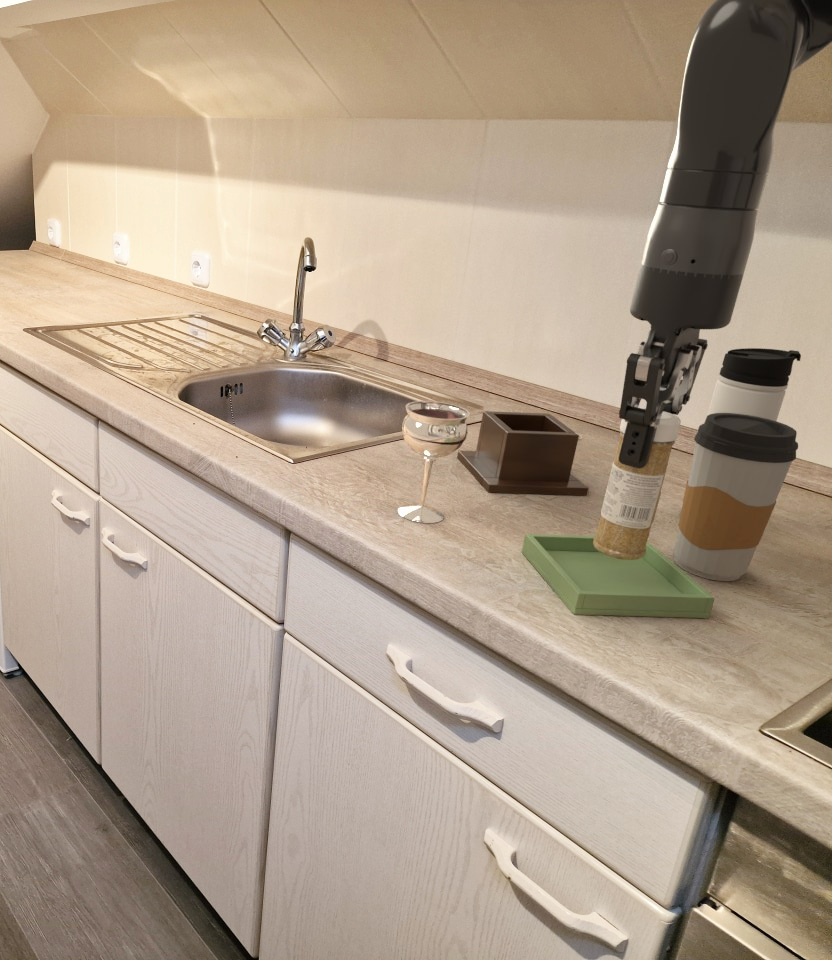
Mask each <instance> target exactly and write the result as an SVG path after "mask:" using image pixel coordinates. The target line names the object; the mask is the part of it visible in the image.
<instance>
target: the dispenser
mask: <svg viewBox="0 0 832 960" xmlns="http://www.w3.org/2000/svg"><path fill="white" fill-rule="evenodd" d="M479 428H480V429H479V433H478V438H477V444H476V450H458V451H457V456H456V457H457V459H458V461H460V463H462V465H463V466H464V467H465V468H466V470H468V472H470V474H471V475H472V476H473V477H474V478H475V479H476V480H477V481H478V482H479V484H480V485H481V486H482V487H483V488H484V490H486V492H487V493H498V494H499V493H500V494H527V495H528V494H531V495H558V496H559V495H560V496H562V495H563V496H584V497H585V496H588V493H589V487H588V486H587V485H586V484H584V483H583V482H582V481H581V480H579V478H577V477H576V476H575V475H574V474H573V473H572V469H573V464H574V459H575V455H576V451H577V447H578V442H579V437H580V435H579V434H578V433H576V431H574V430H573V429H571V428H570V427H569V426H567V425H565V424H564V423H563V422H561V421H560V420H559V419H557V418H556V417H555V416H554V415H552V414H551V413H543V412H518V411H494V410H493V411H489V410H483V411H482V416H481V422H480V426H479Z"/></svg>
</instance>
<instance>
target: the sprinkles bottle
mask: <svg viewBox="0 0 832 960" xmlns="http://www.w3.org/2000/svg"><path fill="white" fill-rule="evenodd" d="M641 408H642V409H646V407H641ZM681 421H682V420H681V418H679V416H678V415H675V414H671V413H668V412H665V411H663V412H662V415H661V418H660V424H659V425H658V426H657V429H656V433H655V437H654V441H653V445H652V448H651V452H650V456H649V460H648V463H647V465H646V466H644V467H643V468H635V467H632V466H628V465H624V464H621V463H620V462H619V454H620V450H621V446H622V442H623V438H624V434H625V430H626V426H627V423H628V422H625V419H621V421H620V426H619V431H620V432H619V439H618V443H617V447H616V452H615V456H614V460H613V461H612V465H611V470H610V474H609V477H608V481H607V486H606V490H605V495H604V498H603V501H602V506H601V510H600V518H599V522H598V525H597V530H596V534H595V536H596V537H595V539H594V541H593V545H594V547H595V548H596V549H597V550H598V551H600V552H602V553H603V554H605V555H608V556H611V557H614V558H617V559H623V560H637V559H640V558H642V557H644V556H645V553H646V544H647V541H649V536H650V532H651V529H652V525H653V523H654V522H655V518H656V514H657V511H658V507H659V503H660V499H661V495H662V489H663V484H664V480H665V476H666V473H667V469H668V465H669V460H670V456H671V453H672V449H673V446H674V444H675V443H676V440H677V439H678V436H679V432H680V428H681V423H682V422H681Z"/></svg>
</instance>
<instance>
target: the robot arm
mask: <svg viewBox="0 0 832 960" xmlns="http://www.w3.org/2000/svg"><path fill="white" fill-rule="evenodd" d="M830 44H832V0H714V1H712V2H711V3H710V5H709V6H708V7H707V8H706V9H705V11H704V12H703V13H702V15H701V17H700V19H699V20H698V22H697V25H696V26H695V29H694V32H693V35H692V37H691V41H690V44H689V49H688V52H687V56H686V57H687V58H686V63H685V67H684V75H683V81H682V87H681V94H680V95H681V96H680V104H679V111H678V120H677V131H676V136H675V140H674V143H673V146H672V149H671V153H670V155H669V159H668V162H667V166H666V169H665V170H666V171H665V175H664V179H663V183H662V187H661V191H660V195H659V196H660V197H659V200H658V202H659V203H658V204H657V207H656V210H655V213H654V216H653V218H652V221H651V223H650V226H649V228H648V232H647V236H646V240H645V244H644V248H643V252H642V256H641V257H642V258H641V261H640V265H639V269H638V273H637V278H636V282H635V285H634V291H633V294H632V298H631V302H630V307H629V312H630V315H631V316H632V317H633V318H635V319H637V320H639V321H642V322H644V321H645V322H648V324H649V325H650V329H649V331H648V333H647V337H646V339H645V341H641V342H640V344H639V345H638V348H637V352H636V353H633V352H631V353H630V354H629V356H628V357H627V358H626V367H625V374H624V381H623V387H622V394H621V401H620V408H619V412H618V418H619V419H621V420H622V419H625V422H628V423H627V426H626V430H625V434H624V438H623V442H622V446H621V450H620V454H619V462H620V463H621V464H624V465H628V466H632V467H635V468H643V467H644V466H646V465H647V463H648V460H649V456H650V452H651V448H652V445H653V441H654V437H655V433H656V429H657V426H658V425H659V424H660V418H661V415H662V412H663V411H665V412H668V413H671V414H674V415H676V416H678V415H679V414H680V412H682V410H683V405H684V406H686V405H687V404H688V402H689V401H690V399H691V393H692V390H693V387H694V384H695V381H696V378H697V375H698V372H699V369H700V367H701V363H702V360H703V358H704V355H705V352H706V350H707V348H708V346H709V345H708V344H709V343H708V339H705V338H700V332H701V330H718V329H723V328H725V327H727V326H728V325H729V324H730V323H731V321H732V316H733V314H734V309H735V307H736V303H737V299H738V296H739V293H740V288H741V285H742V282H743V278H744V275H745V271H746V268H747V264H748V260H749V257H750V254H751V249H752V246H753V241H754V237H755V229H756V221H757V216H758V213H759V212H758V209H759V208H760V204H761V200H762V197H763V194H764V190H765V187H766V183H767V179H768V176H769V175H768V174H769V172H770V168H771V164H772V159H773V152H774V146H775V145H774V140H775V139H774V133H775V127H776V124H777V120H778V118H779V114H780V111H781V107H782V106H783V105H782V104H783V102H784V98H785V95H786V92H787V88H788V85H789V82H790V78H791V76H792V73H793V72H795V71H796V70H797V69H799V68H800V67H802V66H803V65H804V64H806V63H807V62H808V61H810V60H811V59H812V58H814V57H815V56H816V55H818V54H819V53H821V52H822V51H823V50H824V49H826V48H827V47H828V46H829V45H830ZM641 400H644V401H645V402H646V405H645V408H646V409H642V408H643V407H639V406H640V404H641Z"/></svg>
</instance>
